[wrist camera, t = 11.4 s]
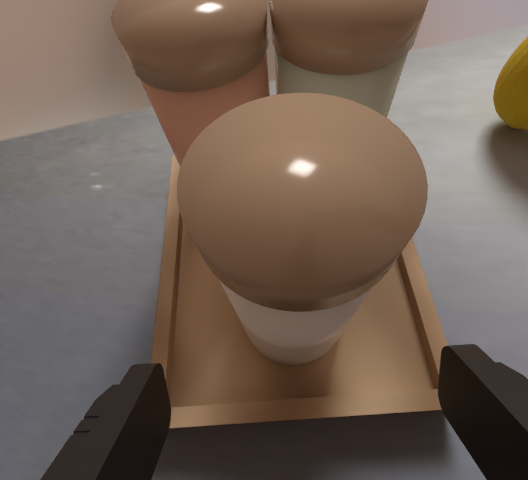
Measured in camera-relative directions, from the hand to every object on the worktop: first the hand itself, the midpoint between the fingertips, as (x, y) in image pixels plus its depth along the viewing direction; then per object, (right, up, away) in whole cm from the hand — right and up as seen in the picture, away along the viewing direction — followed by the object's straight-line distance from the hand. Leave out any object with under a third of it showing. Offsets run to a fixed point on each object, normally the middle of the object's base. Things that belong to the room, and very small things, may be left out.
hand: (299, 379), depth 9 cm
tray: (0, +3, +11) cm, 11 cm away
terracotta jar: (-3, +7, +11) cm, 14 cm away
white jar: (0, 0, +7) cm, 7 cm away
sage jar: (+3, +8, +11) cm, 14 cm away
